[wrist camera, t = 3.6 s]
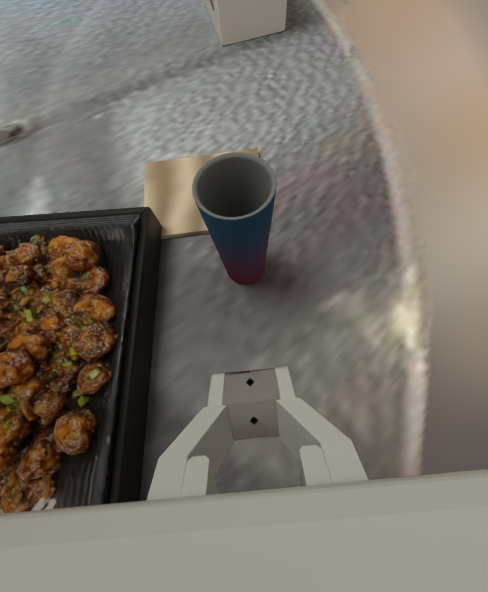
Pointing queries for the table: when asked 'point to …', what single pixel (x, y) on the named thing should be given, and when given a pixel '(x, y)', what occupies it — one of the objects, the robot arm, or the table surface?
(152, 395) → the table surface
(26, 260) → the food platter
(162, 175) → the wooden board
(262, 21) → the gable box
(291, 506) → the robot arm
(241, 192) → the cup
